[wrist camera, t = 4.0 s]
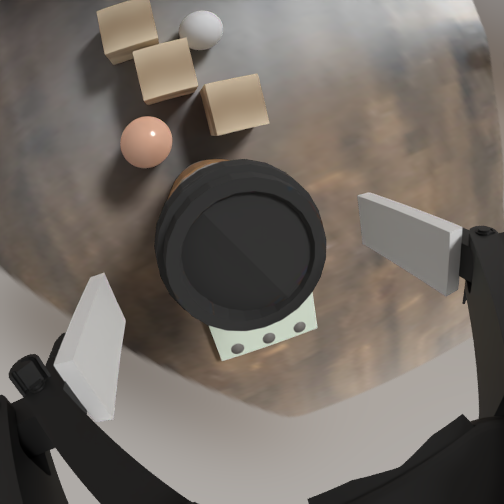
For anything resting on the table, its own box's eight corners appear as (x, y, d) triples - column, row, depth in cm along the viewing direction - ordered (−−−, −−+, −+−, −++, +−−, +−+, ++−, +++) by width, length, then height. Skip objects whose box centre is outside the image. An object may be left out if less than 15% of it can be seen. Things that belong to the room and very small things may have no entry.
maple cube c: (199, 91, 24) (204, 84, 21) (245, 81, 25) (257, 73, 21) (210, 135, 26) (217, 135, 22) (255, 124, 27) (269, 123, 23)
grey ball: (174, 23, 21) (175, 9, 18) (214, 15, 22) (221, 1, 19) (182, 58, 23) (185, 48, 20) (223, 50, 23) (231, 39, 20)
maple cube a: (105, 26, 20) (96, 11, 16) (150, 12, 21) (148, -5, 17) (113, 65, 22) (104, 54, 18) (159, 50, 22) (158, 37, 19)
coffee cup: (206, 259, 30) (243, 366, 16) (140, 196, 26) (112, 265, 13) (273, 196, 29) (365, 256, 16) (211, 127, 26) (260, 121, 12)
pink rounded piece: (124, 127, 24) (114, 126, 19) (165, 114, 24) (165, 109, 20) (135, 167, 25) (128, 174, 21) (176, 154, 26) (177, 159, 21)
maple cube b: (137, 62, 22) (132, 51, 18) (183, 50, 23) (186, 37, 19) (147, 105, 24) (143, 100, 20) (194, 92, 24) (198, 85, 21)
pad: (185, 259, 29) (186, 262, 28) (298, 224, 31) (301, 227, 30) (220, 356, 34) (222, 361, 33) (314, 324, 36) (317, 328, 35)
